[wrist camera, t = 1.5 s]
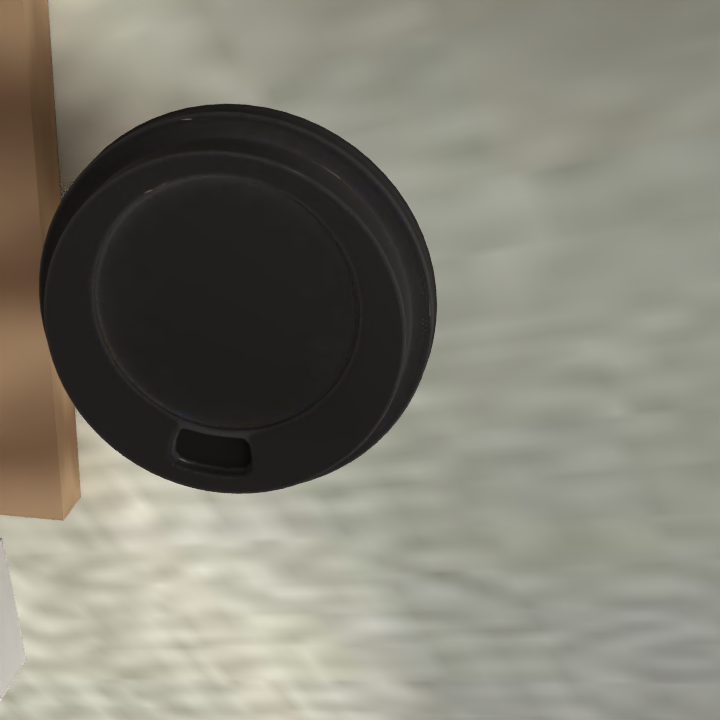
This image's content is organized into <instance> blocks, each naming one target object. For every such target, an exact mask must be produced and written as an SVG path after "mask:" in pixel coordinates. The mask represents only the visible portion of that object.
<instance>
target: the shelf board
mask: <svg viewBox="0 0 720 720" xmlns="http://www.w3.org/2000/svg"><path fill="white" fill-rule="evenodd" d="M60 202H61V193H60V178H59V163H58V148H57V133H56V118H55V103H54V88H53V72H52V57H51V42H50V27H49V12H48V0H0V515H10V516H21V517H31V518H41V519H52V520H62V521H64V519H65V518H66V516H67V515H68V514H69V512H70V511H71V509H72V508H73V507H74V505H75V504H76V503H77V501H78V500H79V498H80V497H81V496H80V481H79V465H78V450H77V435H76V420H75V406H74V404H73V403H72V401H71V399H70V398H69V396H68V394H67V393H66V391H65V389H64V387H63V385H62V383H61V381H60V379H59V377H58V374H57V372H56V369H55V366H54V364H53V361H52V358H51V354H50V351H49V347H48V342H47V339H46V335H45V332H44V328H43V322H42V317H41V312H40V301H39V271H40V261H41V256H42V251H43V246H44V242H45V238H46V235H47V232H48V229H49V226H50V223H51V221H52V219H53V216H54V214H55V211H56V210H57V208H58V206H59V204H60Z"/></svg>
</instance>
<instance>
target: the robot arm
mask: <svg viewBox="0 0 720 720" xmlns="http://www.w3.org/2000/svg"><path fill="white" fill-rule="evenodd" d="M25 661H26V655H25V650H24V645H23V640H22V635H21V630H20V625H19V620H18V615H17V609H16V604H15V599H14V594H13V589H12V584H11V579H10V574H9V568H8V563H7V558H6V553H5V548H4V543H3V538H0V701H1V699H2V698H3V696H4V695H5V693H6V691H7V690H8V688H9V687H10V685H11V683H12V682H13V680H14V679H15V677H16V675H17V674H18V672H19V670H20V669H21V667H22V666H23V664H24V662H25Z"/></svg>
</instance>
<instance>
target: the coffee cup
mask: <svg viewBox="0 0 720 720" xmlns="http://www.w3.org/2000/svg"><path fill="white" fill-rule="evenodd" d="M39 301H40V312H41V317H42V322H43V328H44V332H45V335H46V339H47V342H48V347H49V351H50V354H51V358H52V361H53V364H54V366H55V369H56V372H57V374H58V377H59V379H60V381H61V383H62V385H63V387H64V389H65V391H66V393H67V394H68V396H69V398H70V399H71V401H72V403H73V404H74V406H75V407H76V408H77V410H78V411H79V413H80V414H81V415H82V417H83V418H84V419H85V420H86V421H87V423H88V424H89V425H90V426H91V427H92V428H93V429H94V430H95V432H96V433H97V434H98V435H99V436H100V437H101V438H102V439H104V440H105V441H106V442H107V443H108V444H109V445H110V446H111V447H113V448H114V449H115V450H116V451H118V452H119V453H120V454H122V455H123V456H124V457H126V458H127V459H129V460H130V461H132V462H134V463H135V464H137V465H138V466H140V467H142V468H144V469H146V470H147V471H149V472H151V473H153V474H155V475H158V476H160V477H162V478H164V479H167V480H170V481H172V482H175V483H178V484H181V485H185V486H188V487H192V488H196V489H201V490H206V491H212V492H220V493H235V494H242V493H259V492H268V491H273V490H278V489H283V488H286V487H290V486H294V485H297V484H299V483H303V482H307V481H310V480H313V479H316V478H319V477H321V476H324V475H326V474H329V473H331V472H333V471H335V470H337V469H339V468H341V467H343V466H345V465H346V464H348V463H350V462H352V461H353V460H355V459H356V458H358V457H359V456H361V455H362V454H363V453H365V452H366V451H367V450H369V449H370V448H371V447H372V446H373V445H375V444H376V443H377V442H378V441H379V440H380V439H381V438H382V437H383V436H384V435H385V434H386V433H387V432H388V431H389V430H390V429H391V428H392V426H393V425H394V424H395V423H396V422H397V420H398V419H399V418H400V416H401V415H402V413H403V412H404V411H405V409H406V408H407V406H408V404H409V403H410V401H411V399H412V397H413V396H414V394H415V392H416V390H417V387H418V385H419V383H420V381H421V378H422V375H423V372H424V370H425V367H426V364H427V361H428V358H429V355H430V352H431V348H432V344H433V339H434V333H435V326H436V313H437V297H436V284H435V277H434V271H433V266H432V262H431V258H430V254H429V251H428V248H427V245H426V242H425V239H424V236H423V234H422V232H421V230H420V227H419V225H418V223H417V221H416V219H415V217H414V215H413V213H412V212H411V210H410V208H409V206H408V205H407V203H406V201H405V200H404V199H403V197H402V196H401V194H400V193H399V191H398V190H397V188H396V187H395V186H394V185H393V184H392V182H391V181H390V180H389V179H388V178H387V176H386V175H385V174H384V173H383V172H382V171H381V170H380V169H379V168H378V167H377V166H376V165H375V164H374V163H373V162H372V161H371V160H370V159H369V158H368V157H366V156H365V155H364V154H363V153H362V152H360V151H359V150H358V149H357V148H356V147H354V146H353V145H351V144H350V143H348V142H347V141H345V140H344V139H342V138H341V137H339V136H338V135H336V134H334V133H332V132H331V131H329V130H327V129H325V128H324V127H322V126H320V125H317V124H315V123H313V122H311V121H308V120H306V119H304V118H301V117H298V116H295V115H292V114H289V113H286V112H283V111H278V110H274V109H270V108H265V107H258V106H251V105H241V104H215V105H203V106H197V107H190V108H186V109H182V110H178V111H174V112H170V113H167V114H165V115H162V116H159V117H156V118H154V119H151V120H149V121H147V122H145V123H143V124H141V125H139V126H137V127H135V128H133V129H132V130H130V131H128V132H127V133H125V134H124V135H122V136H120V137H119V138H118V139H116V140H115V141H114V142H113V143H111V144H110V145H109V146H107V147H106V148H105V149H104V150H103V151H102V152H101V153H100V154H99V155H98V156H97V157H96V158H95V159H94V160H93V161H92V162H91V163H90V164H89V165H88V166H87V167H86V168H85V169H84V170H83V171H82V173H81V174H80V175H79V176H78V177H77V178H76V180H75V181H74V182H73V183H72V185H71V186H70V188H69V189H68V191H67V192H66V194H65V195H64V197H63V199H62V200H61V202H60V204H59V206H58V208H57V210H56V211H55V214H54V216H53V219H52V221H51V223H50V226H49V229H48V232H47V235H46V238H45V242H44V246H43V251H42V256H41V261H40V271H39Z"/></svg>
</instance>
